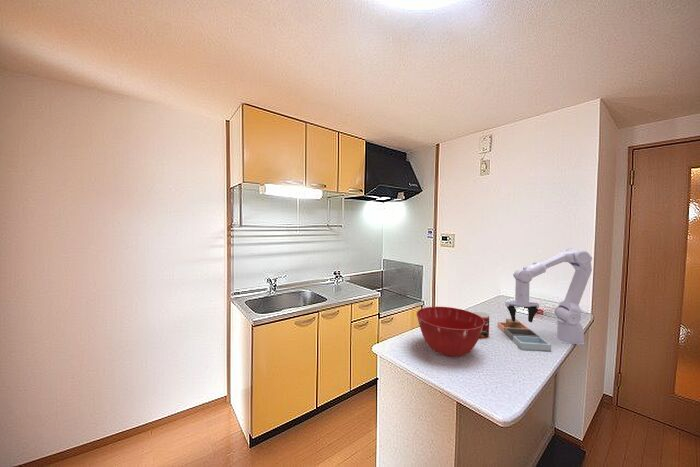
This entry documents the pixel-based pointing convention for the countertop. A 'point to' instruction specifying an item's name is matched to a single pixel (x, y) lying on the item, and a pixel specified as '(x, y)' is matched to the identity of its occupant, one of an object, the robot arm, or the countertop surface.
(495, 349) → the countertop surface
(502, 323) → the dish terracotta
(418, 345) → the countertop surface
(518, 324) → the letter cube
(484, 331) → the canned food
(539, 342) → the dish blue
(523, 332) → the dish charcoal
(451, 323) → the mixing bowl
